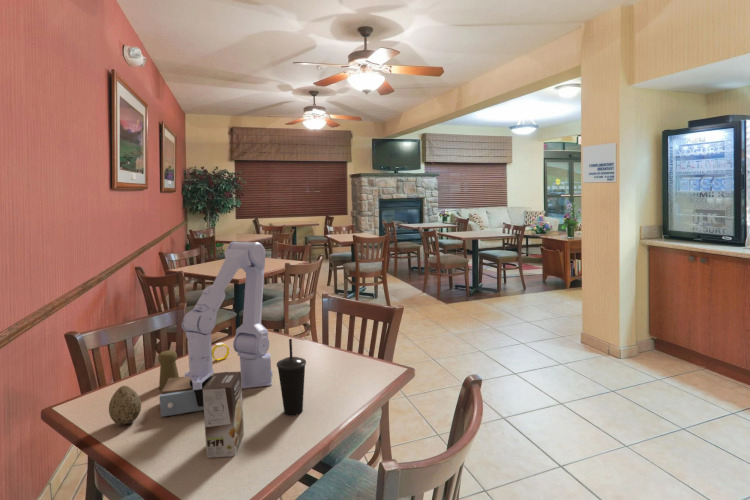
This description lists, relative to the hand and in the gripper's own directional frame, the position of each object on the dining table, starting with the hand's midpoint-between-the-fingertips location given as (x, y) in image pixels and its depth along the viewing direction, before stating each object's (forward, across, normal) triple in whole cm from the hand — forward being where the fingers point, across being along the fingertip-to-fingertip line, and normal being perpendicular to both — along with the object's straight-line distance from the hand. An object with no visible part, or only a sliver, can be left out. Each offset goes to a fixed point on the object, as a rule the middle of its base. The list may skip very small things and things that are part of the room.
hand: (202, 404), depth 114 cm
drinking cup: (+2, +6, +24) cm, 24 cm away
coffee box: (+3, +18, +8) cm, 20 cm away
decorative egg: (+3, 0, -18) cm, 19 cm away
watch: (+2, -40, +1) cm, 40 cm away
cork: (+2, -21, -12) cm, 25 cm away
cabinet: (+2, -8, -2) cm, 8 cm away
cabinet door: (+2, -1, -2) cm, 3 cm away
